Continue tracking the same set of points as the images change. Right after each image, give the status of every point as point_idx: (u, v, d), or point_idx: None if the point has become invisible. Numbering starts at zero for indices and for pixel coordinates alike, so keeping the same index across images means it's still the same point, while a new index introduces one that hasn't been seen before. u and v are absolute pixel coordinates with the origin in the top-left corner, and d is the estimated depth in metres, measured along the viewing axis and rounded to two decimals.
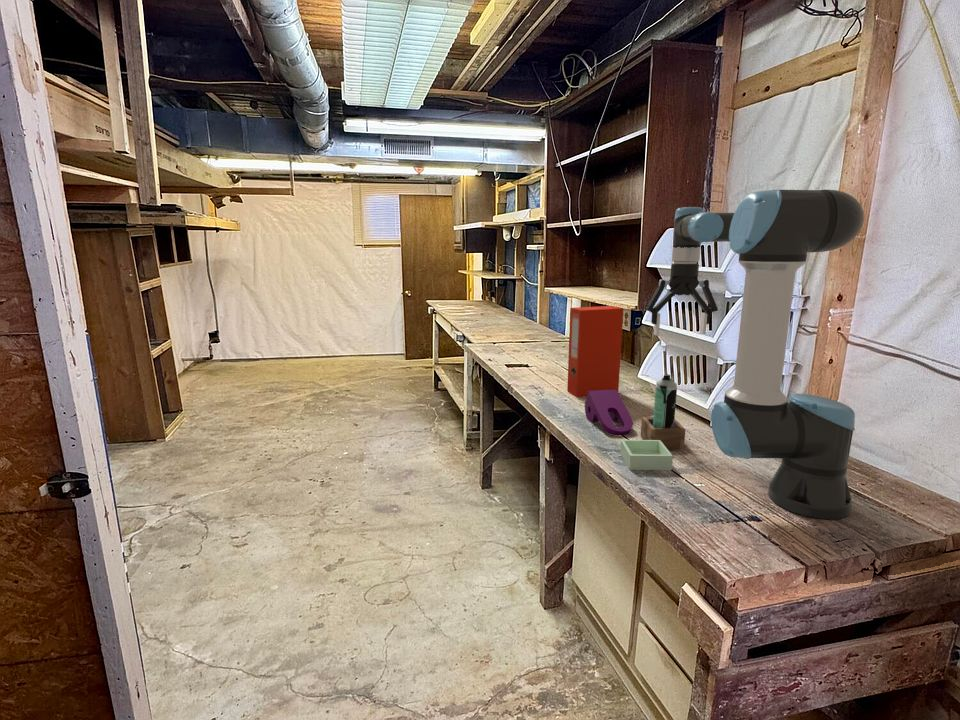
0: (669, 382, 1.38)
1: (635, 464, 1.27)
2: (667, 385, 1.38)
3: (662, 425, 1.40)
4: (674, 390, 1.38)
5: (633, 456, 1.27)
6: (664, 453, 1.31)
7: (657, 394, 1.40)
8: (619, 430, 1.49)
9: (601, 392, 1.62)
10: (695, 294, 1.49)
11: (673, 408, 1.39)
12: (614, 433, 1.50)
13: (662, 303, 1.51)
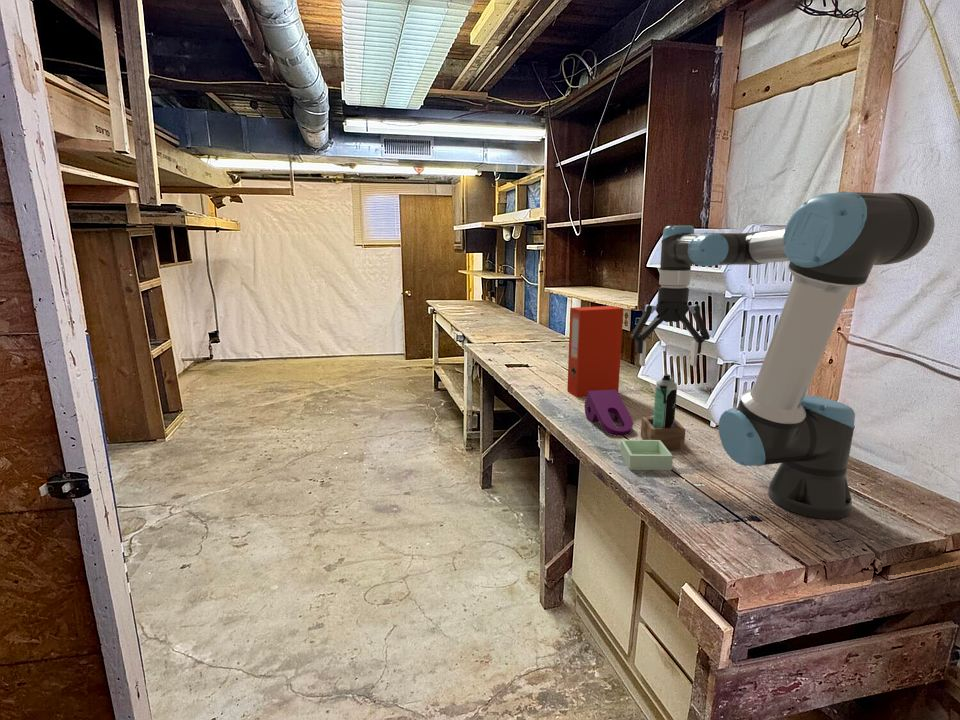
0: (669, 382, 1.38)
1: (635, 464, 1.27)
2: (667, 385, 1.38)
3: (662, 425, 1.40)
4: (674, 390, 1.38)
5: (633, 456, 1.27)
6: (664, 453, 1.31)
7: (657, 394, 1.40)
8: (619, 430, 1.49)
9: (601, 392, 1.62)
10: (685, 321, 1.35)
11: (673, 408, 1.39)
12: (614, 433, 1.50)
13: (648, 331, 1.36)
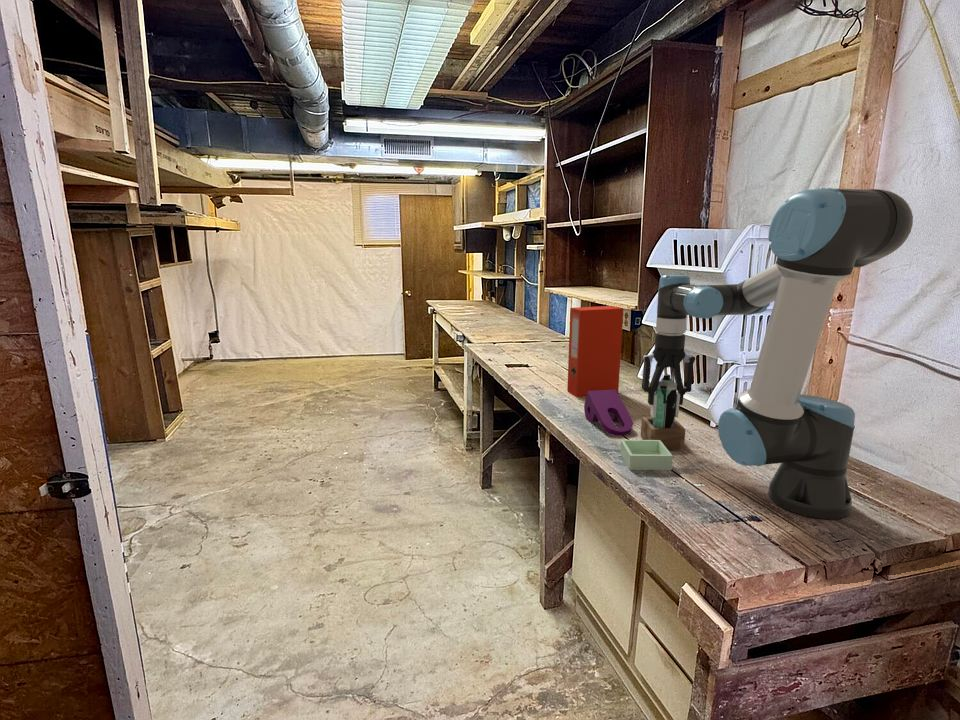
0: (669, 382, 1.38)
1: (635, 464, 1.27)
2: (667, 385, 1.38)
3: (662, 425, 1.40)
4: (674, 390, 1.38)
5: (633, 456, 1.27)
6: (664, 453, 1.31)
7: (657, 394, 1.40)
8: (619, 431, 1.49)
9: (601, 393, 1.62)
10: (676, 369, 1.37)
11: (673, 408, 1.39)
12: (614, 433, 1.50)
13: (655, 381, 1.39)
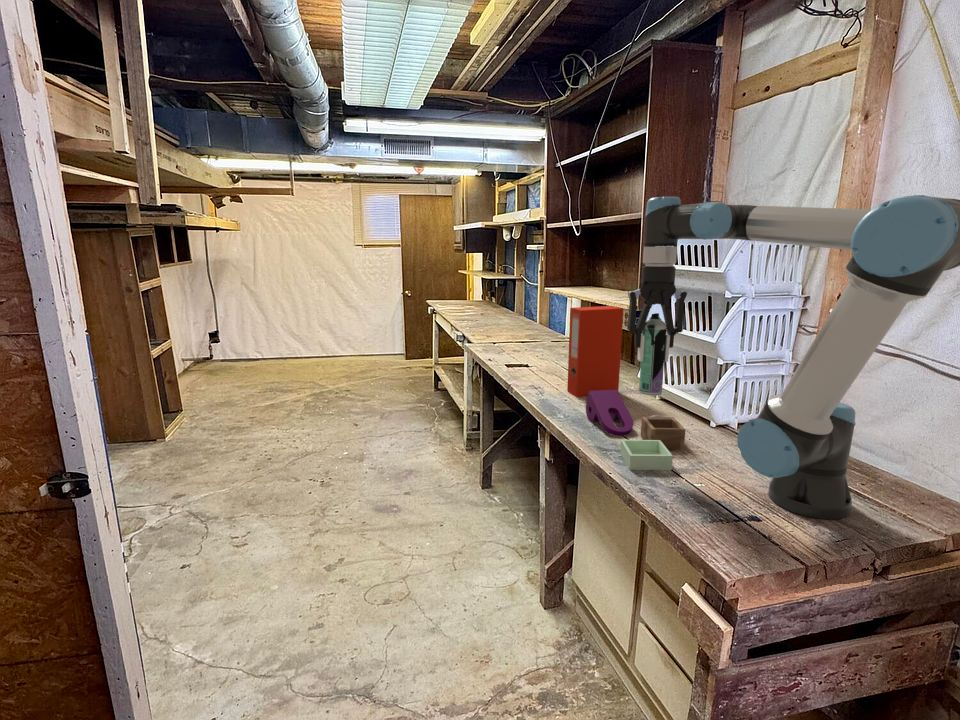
0: (657, 321, 1.23)
1: (635, 464, 1.27)
2: (655, 323, 1.23)
3: (650, 370, 1.25)
4: (663, 330, 1.23)
5: (633, 456, 1.27)
6: (664, 453, 1.31)
7: None
8: (619, 431, 1.49)
9: (602, 393, 1.62)
10: (666, 306, 1.22)
11: (662, 350, 1.24)
12: (614, 433, 1.50)
13: (642, 320, 1.24)
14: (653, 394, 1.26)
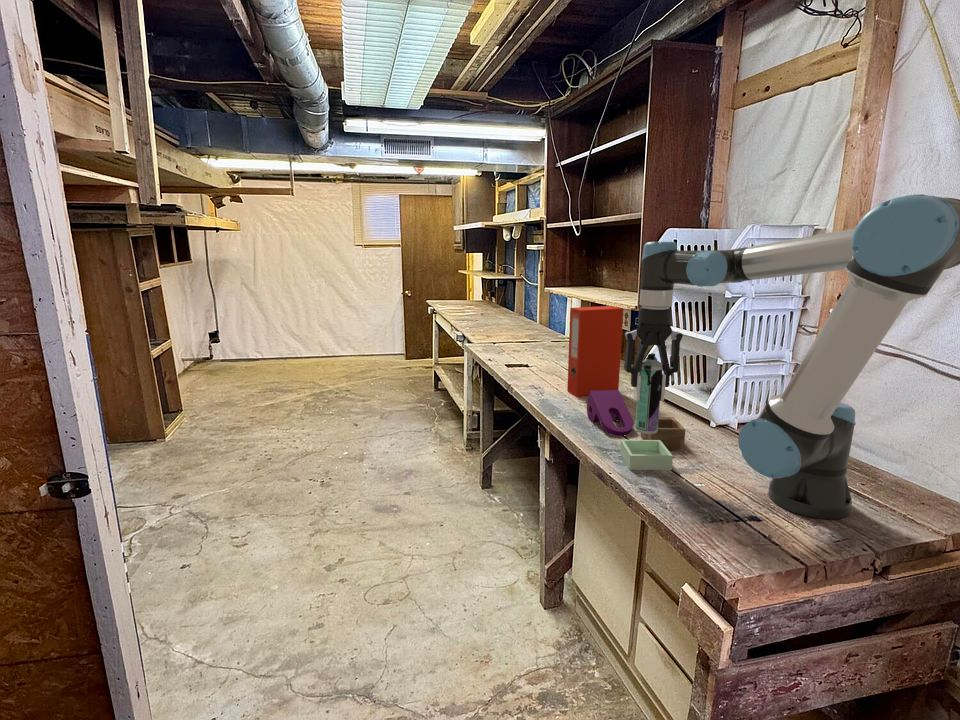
0: (654, 361, 1.25)
1: (635, 464, 1.27)
2: (651, 364, 1.25)
3: (646, 410, 1.27)
4: (659, 370, 1.25)
5: (633, 456, 1.27)
6: (664, 453, 1.31)
7: (641, 375, 1.27)
8: (619, 431, 1.49)
9: (603, 393, 1.62)
10: (662, 347, 1.24)
11: (658, 390, 1.26)
12: (614, 433, 1.50)
13: (638, 361, 1.26)
14: (649, 433, 1.28)
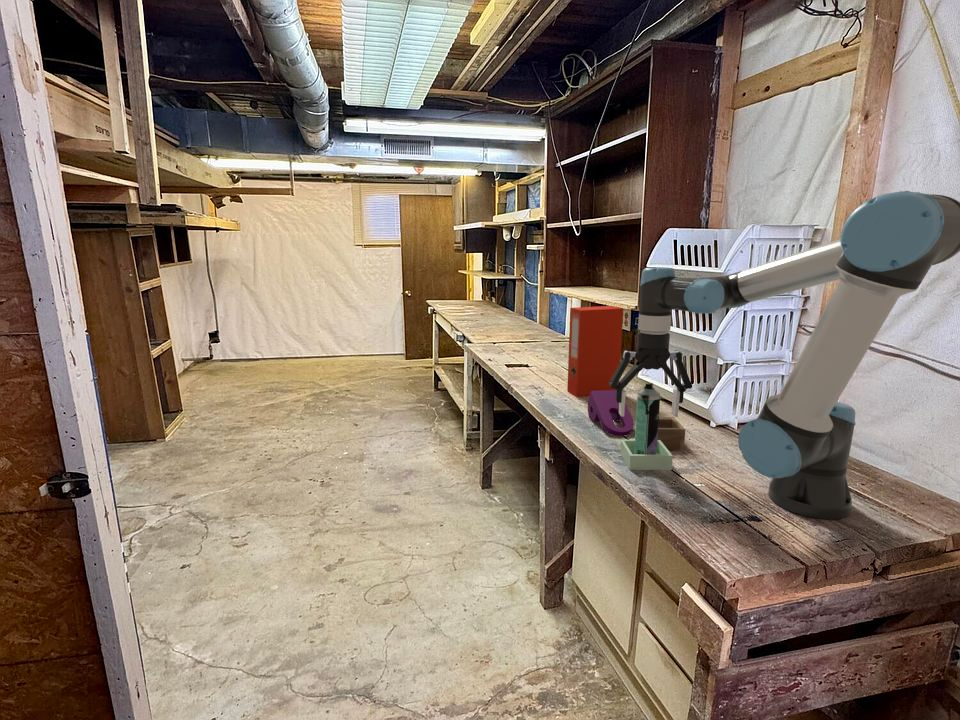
0: (651, 391, 1.27)
1: (635, 464, 1.27)
2: (649, 394, 1.27)
3: (645, 439, 1.29)
4: (657, 400, 1.27)
5: (633, 456, 1.27)
6: (664, 453, 1.31)
7: (639, 404, 1.28)
8: (619, 431, 1.49)
9: (604, 393, 1.62)
10: (666, 369, 1.25)
11: (656, 419, 1.28)
12: (614, 433, 1.50)
13: (627, 379, 1.27)
14: None
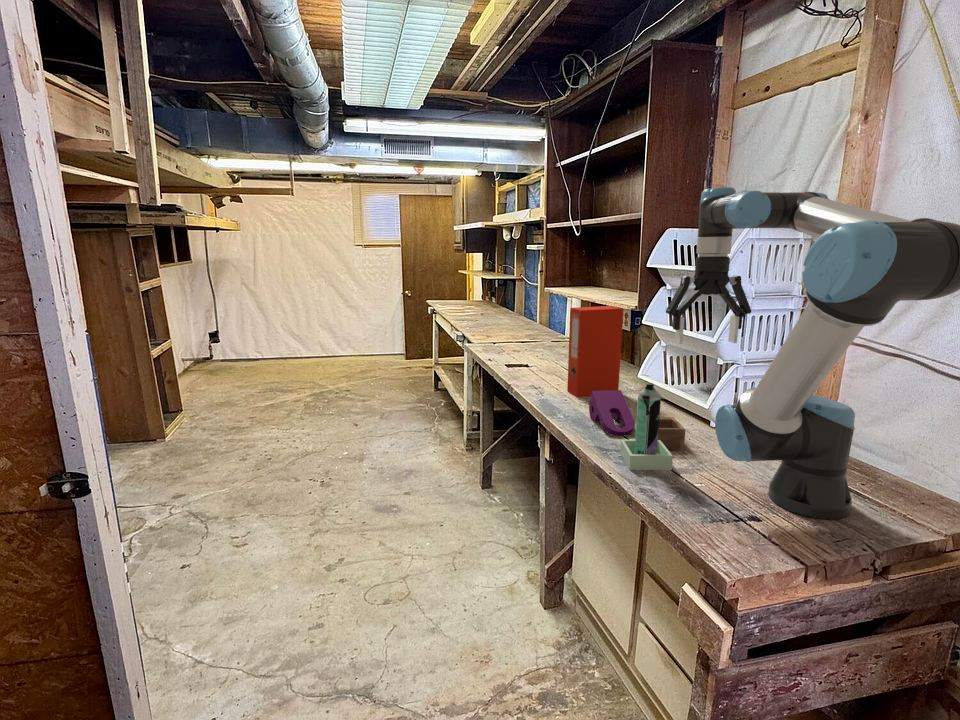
0: (652, 392, 1.27)
1: (635, 464, 1.27)
2: (650, 395, 1.26)
3: (645, 439, 1.29)
4: (658, 400, 1.27)
5: (633, 456, 1.27)
6: (664, 453, 1.31)
7: (639, 405, 1.28)
8: (619, 431, 1.49)
9: (605, 393, 1.62)
10: (725, 293, 1.24)
11: (657, 420, 1.28)
12: (614, 433, 1.50)
13: (686, 304, 1.24)
14: None
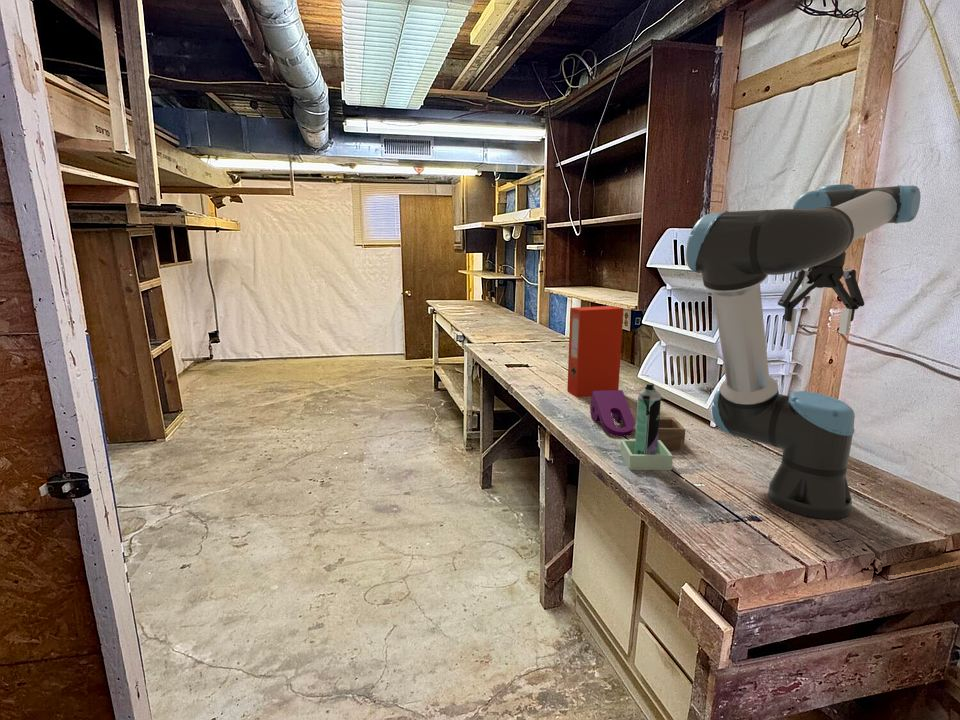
0: (652, 392, 1.27)
1: (635, 464, 1.27)
2: (650, 395, 1.26)
3: (645, 439, 1.29)
4: (658, 400, 1.27)
5: (633, 456, 1.27)
6: (664, 453, 1.31)
7: (639, 405, 1.28)
8: (619, 431, 1.49)
9: (606, 393, 1.62)
10: (839, 286, 1.29)
11: (657, 420, 1.28)
12: (614, 433, 1.50)
13: (800, 297, 1.30)
14: None
